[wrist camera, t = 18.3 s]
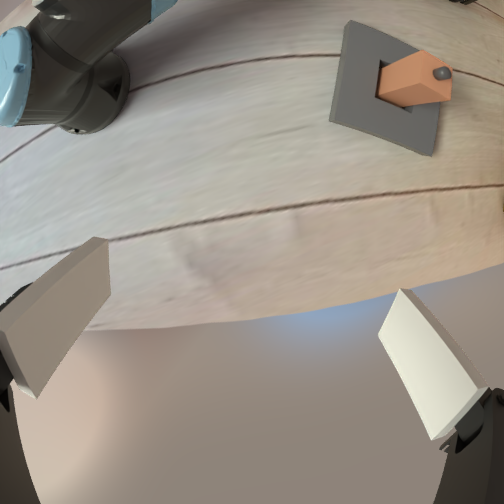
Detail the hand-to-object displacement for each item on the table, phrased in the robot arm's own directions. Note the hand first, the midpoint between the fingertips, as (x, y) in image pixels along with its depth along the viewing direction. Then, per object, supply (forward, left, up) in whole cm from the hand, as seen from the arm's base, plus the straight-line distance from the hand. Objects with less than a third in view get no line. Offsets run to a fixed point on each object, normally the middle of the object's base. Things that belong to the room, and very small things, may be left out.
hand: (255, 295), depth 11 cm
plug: (-2, +28, -32) cm, 42 cm away
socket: (-2, +28, -32) cm, 42 cm away
